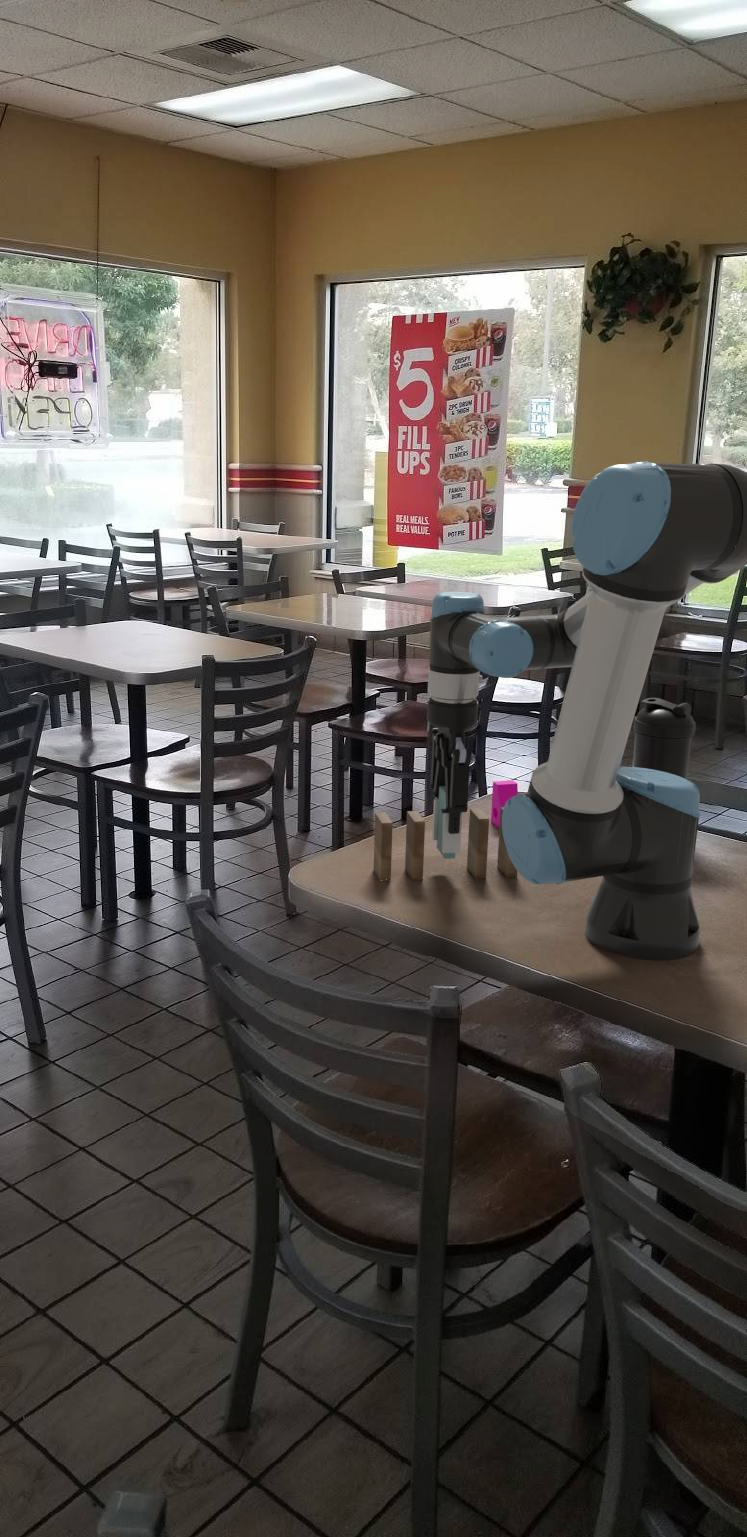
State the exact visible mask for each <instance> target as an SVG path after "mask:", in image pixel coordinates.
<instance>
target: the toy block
mask: <svg viewBox="0 0 747 1537" xmlns="http://www.w3.org/2000/svg"><path fill="white" fill-rule="evenodd" d="M518 790H519V789H518V783H517V782H516V781H514V780H513V779H511V780H496V781H492V792H491V793H492V794H491V809H490V810H491V812H490V822H491V823H493V824H494V826H496V827H498V828H499V827H500V810H501V807H504V806H505V804H506V802H507V801H508V800H509V799H510V798H512V797H513V796H516V795H517V794H519V791H518Z"/></svg>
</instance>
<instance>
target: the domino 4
mask: <svg viewBox="0 0 747 1537" xmlns="http://www.w3.org/2000/svg"><path fill="white" fill-rule="evenodd" d="M468 824H469V825H468V839H467V856H466V857H467V858H466V868H467V870H468V871H469V872H470V873H471V874H472V876H474V878H475V879H487V865H488V864H487V863H488V851H489V850H488V849H489V833H490V832H489V831H490V818H489V817H488V815H487V814H486V813H485V812H484V810H482V809H481V808H478V807H477V808H469V819H468Z"/></svg>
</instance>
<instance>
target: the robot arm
mask: <svg viewBox="0 0 747 1537" xmlns="http://www.w3.org/2000/svg"><path fill="white" fill-rule="evenodd" d="M571 535H572V536H573V537H574V540H573V541H572V548H573V552H574V554H575V557H576V558H577V561H578V562H579V563H580V565H581V566H582V568H583V569H582V571H581V572H582V577H583V579H584V580H585V581H586V583H587V585H588V586H589V587H590V589H591V590H590V591H589V592H587V593H586V594H585V595H584V596H582V597H581V598H579V599H578V600H577V601H575V603H573V604H571V605H570V606H569V607H567V608H566V609H564V610H563V611H562V612H559V613H557V614H544V615H541V614H540V615H532V616H531V615H529V616H527V615H526V616H505V617H504V616H503V617H497V616H496V617H494V616H491V615H486V614H485V610H486V609H485V604H484V599H483V597H482V596H481V595H480V594H478V593H474V592H469V591H442V592H439V593H437V594H436V595H435V596H433V599H432V605H431V607H432V608H431V616H430V617H429V621H430V629H429V630H430V632H429V633H430V634H429V636H430V637H429V667H428V676H427V679H428V680H427V694H428V695H429V696H430V697H429V698H428V699H427V706H426V708H427V709H426V720H427V722H428V723H429V725H432V726H434V727H432V728H431V742H432V744H431V745H432V747H431V765H430V766H431V767H430V784H429V788H430V790H431V791H432V796H433V798H434V799H433V813H432V815H433V816H432V832H431V833H432V836H431V839H432V840H433V841H437V828H438V807H439V786H445V787H446V809H441V812H442V813H443V832H442V853H455V854H456V853H461V845H462V844H461V842H462V823H463V822H462V821H463V813H467V812H468V808H469V807H468V803H469V802H468V800H469V786H470V783H469V782H470V764H471V759H472V754H473V753H472V749H471V748H468V738H467V737H466V729H467V728H471V727H474V726H475V725H477V723H478V716H479V715H478V712H479V701H478V700H477V697H478V696H479V690H480V682H482V681H483V675H481V674H480V673H481V672H482V673H483V674H485V675H488V676H491V677H498V678H502V679H510V678H514V677H516V676H518V675H519V674H521V673H523V672H524V671H529V670H542V669H556V668H558V669H560V668H571V669H570V673H569V678H568V680H567V681H568V682H567V685H566V690H565V693H564V697H563V699H562V700H563V701H562V704H561V709H560V713H559V717H558V720H557V724H556V728H555V732H554V737H553V740H552V744H551V749H550V752H549V756H548V760H547V761H546V762H544V763H541V764H539V765H538V766H536V768H534V769H533V771H532V773H531V777H530V780H529V784H528V789H527V792H526V793H518V794H517V795H516V796H513V797H512V798H510V799H509V800H508V801H507V802H506V804H505V806H504V809H503V814H502V832H503V838H504V842H505V845H506V849H507V852H508V855H509V857H510V859H511V861H512V863H513V865H514V867H515V868H516V870H517V873H518V874H519V875H520V876H521V877H522V878H523V879H524V880H525V881H527V882H529V883H531V884H534V885H538V886H539V885H541V886H542V885H552V884H553V885H554V884H555V885H562V884H564V883H568V882H574V881H578V880H586V879H591V878H597V877H602V880H601V882H600V885H599V887H598V889H597V891H596V893H595V896H594V898H593V900H592V902H591V905H590V907H589V909H588V912H587V914H586V917H585V928H584V929H585V930H584V933H585V936H586V938H587V939H588V941H589V942H591V943H592V944H593V945H594V946H596V947H598V948H600V949H602V950H604V951H606V952H608V953H611V954H614V955H618V956H621V957H626V958H630V959H636V960H637V959H638V960H644V961H671V960H678V959H682V958H684V957H687V956H690V955H692V954H693V953H695V952H696V951H697V949H698V948H699V943H700V933H701V932H700V931H701V930H700V924H699V920H698V919H699V918H698V915H697V911H696V906H695V902H694V901H695V900H694V898H693V892H692V879H693V872H694V861H695V852H696V845H697V838H698V837H697V836H698V831H699V830H698V828H699V822H700V821H699V819H700V818H701V813H700V800H701V799H700V798H701V794H700V791H699V788H698V787H697V785H695V783H693V782H692V781H690V780H689V779H687V778H686V779H685V778H682V777H680V776H677V775H674V774H670V773H667V772H662V771H658V770H653V769H647V768H638V767H633V766H621V763H622V760H623V756H624V752H625V749H626V746H627V742H628V740H629V739H628V738H629V736H630V732H631V729H632V727H633V723H634V717H635V714H636V712H637V709H638V704H639V702H640V698H641V695H642V691H643V688H644V685H645V681H646V677H647V673H648V671H649V667H650V664H651V660H652V657H653V653H654V650H655V647H656V643H657V640H658V637H659V633H660V629H661V626H662V622H663V619H664V615H665V612H666V609H667V608H668V607H670V606H672V605H674V604H675V603H677V602H679V601H681V600H682V599H683V598H684V596H686V595H687V594H689V593H690V592H692V591H694V590H695V589H696V588H698V587H700V586H701V585H702V584H708V585H710V584H718V583H720V582H723V581H724V580H726V579H728V578H730V577H731V576H733V575H734V574H736V573H737V572H739V571H740V570H742V569H743V568H744V567H746V566H747V472H746V471H745V470H743V469H740V468H738V467H736V466H733V465H730V464H724V463H706V464H705V463H665V462H664V463H659V462H651V461H636V462H632V463H624V464H623V463H621V464H614V465H611V466H608V467H605V469H604V468H603V470H602V471H601V472H599V473H597V474H596V475H594V476H593V477H592V478H591V479H590V480H589V482H587V484H586V485H585V486H584V487H583V490H582V492H581V494H580V495H579V498H578V500H577V502H576V504H575V508H574V512H573V516H572V520H571Z"/></svg>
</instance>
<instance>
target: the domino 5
mask: <svg viewBox="0 0 747 1537" xmlns="http://www.w3.org/2000/svg"><path fill="white" fill-rule="evenodd" d="M503 809H504V807H501V810H500V827H498V830H499V831H498V850H497V866H496V867H497V868H498V869H499V871H501V872H502V874H503V875H504V876H505V877H506V878H517V877H518V871H517V870H516V868H515V867H514V865H513V863H512V861H511V859H510V857H509V855H508V852H507V849H506V845H505V842H504V838H503V832H502V814H503Z"/></svg>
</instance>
